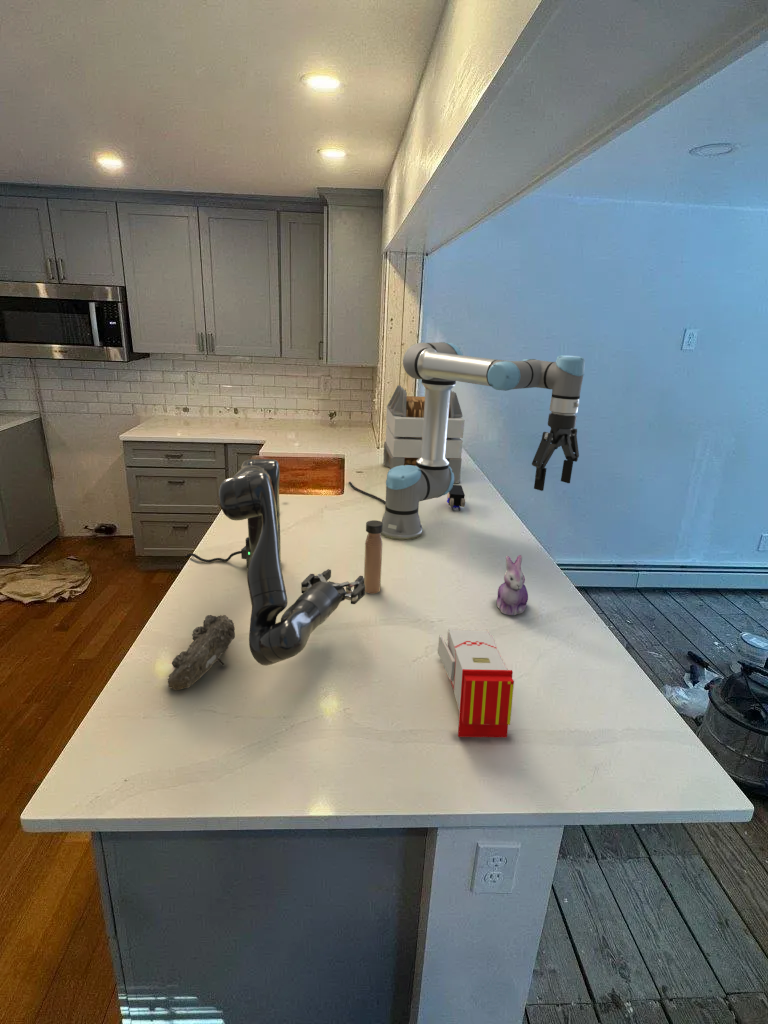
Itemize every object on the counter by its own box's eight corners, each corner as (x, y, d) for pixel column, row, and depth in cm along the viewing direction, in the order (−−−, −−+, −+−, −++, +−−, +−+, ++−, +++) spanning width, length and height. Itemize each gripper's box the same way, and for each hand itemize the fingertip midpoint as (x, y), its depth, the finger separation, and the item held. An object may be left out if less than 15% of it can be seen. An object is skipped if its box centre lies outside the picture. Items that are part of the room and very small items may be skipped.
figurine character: (465, 515, 224) (460, 499, 237) (467, 498, 221) (462, 483, 234) (448, 515, 224) (444, 499, 237) (450, 498, 220) (445, 482, 234)
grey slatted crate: (382, 463, 289) (386, 382, 275) (445, 464, 293) (451, 384, 279) (390, 482, 257) (394, 392, 243) (460, 483, 261) (468, 394, 247)
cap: (385, 529, 155) (385, 522, 154) (378, 535, 151) (378, 527, 150) (370, 526, 156) (370, 519, 156) (363, 531, 152) (363, 524, 152)
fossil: (190, 617, 133) (235, 588, 128) (218, 645, 136) (264, 617, 131) (146, 683, 113) (197, 651, 108) (180, 714, 116) (232, 684, 111)
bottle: (382, 587, 161) (385, 523, 154) (376, 595, 157) (379, 529, 150) (367, 584, 163) (370, 520, 156) (360, 591, 158) (362, 525, 152)
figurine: (510, 620, 147) (517, 567, 142) (486, 602, 155) (492, 552, 150) (538, 612, 151) (545, 561, 146) (513, 595, 159) (519, 546, 154)
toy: (488, 613, 130) (523, 677, 101) (484, 667, 133) (517, 744, 104) (435, 612, 130) (455, 676, 101) (432, 666, 133) (451, 743, 103)
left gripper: (345, 596, 120) (373, 567, 135) (286, 583, 125) (319, 556, 139) (345, 627, 123) (372, 595, 137) (287, 613, 127) (319, 584, 141)
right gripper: (548, 419, 148) (537, 496, 155) (598, 411, 163) (586, 482, 171) (525, 414, 153) (515, 489, 160) (575, 407, 169) (564, 476, 176)
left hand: (345, 576), depth 138 cm, fingers open, 8 cm apart
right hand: (552, 485), depth 166 cm, fingers open, 13 cm apart
